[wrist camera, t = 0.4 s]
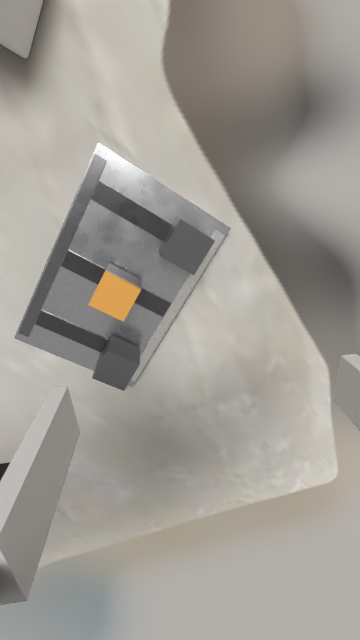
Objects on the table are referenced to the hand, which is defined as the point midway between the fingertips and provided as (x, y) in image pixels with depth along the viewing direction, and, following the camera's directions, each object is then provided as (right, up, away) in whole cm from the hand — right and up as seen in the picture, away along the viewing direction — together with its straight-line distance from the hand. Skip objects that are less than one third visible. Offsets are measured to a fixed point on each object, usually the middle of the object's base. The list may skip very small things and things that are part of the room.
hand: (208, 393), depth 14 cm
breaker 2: (-1, +12, +18) cm, 22 cm away
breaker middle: (-9, +7, +19) cm, 22 cm away
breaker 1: (-9, -1, +23) cm, 25 cm away
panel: (-9, +8, +21) cm, 24 cm away
